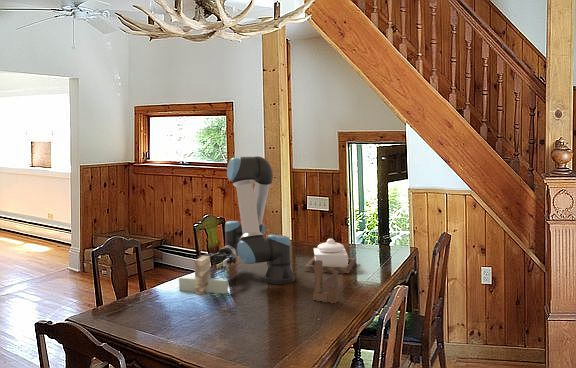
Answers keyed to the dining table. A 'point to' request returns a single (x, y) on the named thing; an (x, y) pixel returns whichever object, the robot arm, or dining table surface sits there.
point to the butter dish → (331, 254)
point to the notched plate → (202, 273)
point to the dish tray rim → (347, 269)
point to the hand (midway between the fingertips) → (210, 263)
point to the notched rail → (212, 286)
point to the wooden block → (325, 285)
